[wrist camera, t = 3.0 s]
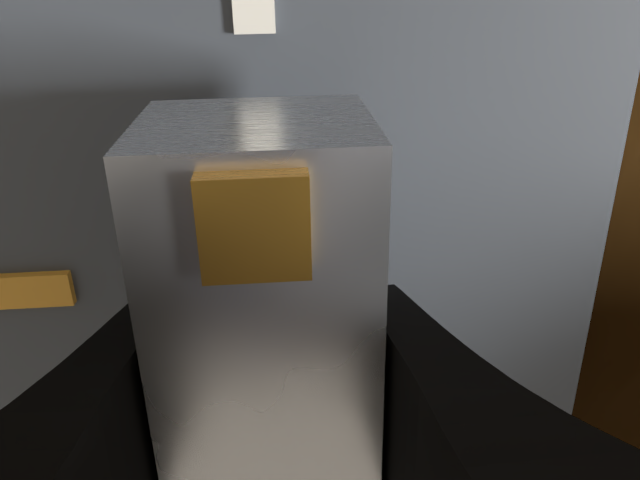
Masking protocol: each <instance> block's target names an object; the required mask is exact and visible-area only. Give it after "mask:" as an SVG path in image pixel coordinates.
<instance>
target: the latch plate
mask: <svg viewBox="0 0 640 480" xmlns="http://www.w3.org/2000/svg"><path fill="white" fill-rule="evenodd" d="M639 71H640V0H0V410H1V409H2V408H3V407H5V406H6V405H8V404H9V403H10V402H12V401H13V400H14V399H15V398H17V397H18V396H19V395H20V394H22V393H23V392H24V391H25V390H27V389H28V388H29V387H31V386H32V385H33V384H34V383H36V382H37V381H38V380H39V379H41V378H42V377H43V376H45V375H46V374H47V373H48V372H50V371H51V370H52V369H53V368H55V367H56V366H57V365H58V364H60V363H61V362H62V361H63V360H64V359H66V358H67V357H68V356H69V355H70V354H71V353H72V352H74V351H75V350H76V349H77V348H78V347H79V346H80V345H82V344H83V343H84V342H85V341H86V340H87V339H88V338H90V337H91V336H92V335H93V334H94V333H95V332H96V331H98V330H99V329H100V328H101V327H102V326H103V325H104V324H105V323H106V322H108V321H109V320H110V319H111V318H112V317H113V316H114V315H115V314H116V313H118V312H119V311H120V310H121V309H122V308H123V307H124V306H125V305H127V304H128V299H127V293H126V288H125V282H124V276H123V270H122V264H121V259H120V253H119V247H118V241H117V235H116V230H115V224H114V218H113V212H112V206H111V201H110V195H109V189H108V183H107V177H106V172H105V166H104V160H103V156H104V155H105V154H106V153H107V152H108V150H109V149H110V148H111V147H112V146H113V145H114V143H115V142H116V141H117V140H118V139H119V138H120V136H121V135H122V134H123V133H124V132H125V131H126V129H127V128H128V127H129V126H130V125H131V124H132V122H133V121H134V120H135V119H136V118H137V117H138V116H139V114H140V113H141V112H142V111H143V110H144V109H145V107H146V106H147V105H148V104H149V103H150V102H151V101H159V100H189V99H220V98H251V97H281V96H312V95H342V94H358V96H359V97H360V99H361V100H362V102H363V103H364V104H365V106H366V107H367V109H368V110H369V112H370V113H371V115H372V116H373V118H374V119H375V121H376V122H377V124H378V125H379V127H380V128H381V130H382V131H383V133H384V134H385V135H386V137H387V138H388V140H389V141H390V143H391V144H392V175H391V205H390V235H389V265H388V285H391V284H395V285H396V286H397V287H398V288H399V289H401V290H402V291H403V292H404V293H405V294H406V295H407V296H408V297H410V298H411V299H412V300H413V301H414V302H415V303H416V304H417V305H418V306H420V307H421V308H422V309H423V310H424V311H425V312H426V313H427V314H429V315H430V316H431V317H432V318H433V319H434V320H436V321H437V322H438V323H439V324H440V325H441V326H443V327H444V328H445V329H446V330H447V331H449V332H450V333H451V334H452V335H453V336H455V337H456V338H457V339H458V340H460V341H461V342H462V343H463V344H465V345H466V346H467V347H469V348H470V349H471V350H472V351H474V352H475V353H476V354H478V355H479V356H480V357H482V358H483V359H484V360H486V361H487V362H489V363H490V364H492V365H493V366H494V367H496V368H497V369H499V370H500V371H501V372H503V373H504V374H506V375H507V376H508V377H510V378H511V379H513V380H514V381H516V382H517V383H519V384H521V385H522V386H524V387H525V388H527V389H528V390H530V391H532V392H533V393H535V394H537V395H538V396H540V397H542V398H543V399H545V400H547V401H548V402H550V403H552V404H553V405H555V406H557V407H558V408H560V409H562V410H564V411H565V412H567V413H569V414H571V415H572V410H573V405H574V400H575V395H576V390H577V385H578V380H579V375H580V370H581V365H582V360H583V355H584V350H585V345H586V340H587V335H588V329H589V324H590V319H591V314H592V309H593V304H594V299H595V294H596V289H597V284H598V279H599V274H600V269H601V264H602V259H603V253H604V248H605V243H606V238H607V233H608V228H609V223H610V218H611V213H612V208H613V203H614V198H615V193H616V188H617V183H618V178H619V172H620V167H621V162H622V157H623V152H624V147H625V142H626V137H627V132H628V127H629V122H630V117H631V112H632V107H633V102H634V97H635V91H636V86H637V81H638V76H639Z"/></svg>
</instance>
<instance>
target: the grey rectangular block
mask: <svg viewBox="0 0 640 480" xmlns="http://www.w3.org/2000/svg"><path fill="white" fill-rule="evenodd" d="M103 160H104V166H105V172H106V177H107V183H108V189H109V195H110V201H111V206H112V212H113V218H114V224H115V230H116V235H117V241H118V247H119V253H120V259H121V264H122V270H123V276H124V282H125V288H126V293H127V299H128V305H129V311H130V317H131V322H132V328H133V334H134V340H135V346H136V351H137V357H138V363H139V369H140V375H141V380H142V386H143V392H144V398H145V404H146V409H147V415H148V421H149V427H150V433H151V438H152V444H153V450H154V456H155V462H156V467H157V473H158V479H159V480H381V474H382V444H383V414H384V384H385V355H386V325H387V295H388V265H389V235H390V205H391V175H392V144H391V143H390V141H389V140H388V138H387V137H386V135H385V134H384V133H383V131H382V130H381V128H380V127H379V125H378V124H377V122H376V121H375V119H374V118H373V116H372V115H371V113H370V112H369V110H368V109H367V107H366V106H365V104H364V103H363V102H362V100H361V99H360V97H359V96H358V94H342V95H312V96H281V97H251V98H220V99H189V100H159V101H151V102H150V103H149V104H148V105H147V106H146V107H145V109H144V110H143V111H142V112H141V113H140V114H139V116H138V117H137V118H136V119H135V120H134V121H133V122H132V124H131V125H130V126H129V127H128V128H127V129H126V131H125V132H124V133H123V134H122V135H121V136H120V138H119V139H118V140H117V141H116V142H115V143H114V145H113V146H112V147H111V148H110V149H109V150H108V152H107V153H106V154H105V155H104V156H103Z"/></svg>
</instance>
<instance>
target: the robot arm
mask: <svg viewBox="0 0 640 480" xmlns="http://www.w3.org/2000/svg"><path fill="white" fill-rule="evenodd" d="M0 480H159V479H158V473H157V467H156V462H155V456H154V450H153V444H152V438H151V433H150V427H149V421H148V415H147V409H146V404H145V398H144V392H143V386H142V380H141V375H140V369H139V363H138V357H137V351H136V346H135V340H134V334H133V328H132V322H131V317H130V311H129V305H128V304H127V305H125V306H124V307H123V308H122V309H121V310H120V311H119V312H118V313H116V314H115V315H114V316H113V317H112V318H111V319H110V320H109V321H108V322H106V323H105V324H104V325H103V326H102V327H101V328H100V329H99V330H98V331H96V332H95V333H94V334H93V335H92V336H91V337H90V338H88V339H87V340H86V341H85V342H84V343H83V344H82V345H80V346H79V347H78V348H77V349H76V350H75V351H74V352H72V353H71V354H70V355H69V356H68V357H67V358H66V359H64V360H63V361H62V362H61V363H60V364H58V365H57V366H56V367H55V368H53V369H52V370H51V371H50V372H48V373H47V374H46V375H45V376H43V377H42V378H41V379H39V380H38V381H37V382H36V383H34V384H33V385H32V386H31V387H29V388H28V389H27V390H25V391H24V392H23V393H22V394H20V395H19V396H18V397H17V398H15V399H14V400H13V401H12V402H10V403H9V404H8V405H6V406H5V407H3V408H2V409H1V410H0ZM381 480H640V449H638V448H636V447H634V446H632V445H629V444H627V443H625V442H623V441H621V440H619V439H617V438H615V437H613V436H611V435H609V434H607V433H605V432H603V431H601V430H599V429H597V428H595V427H593V426H591V425H589V424H587V423H585V422H584V421H582V420H580V419H578V418H576V417H574V416H572V415H571V414H569V413H567V412H565V411H564V410H562V409H560V408H558V407H557V406H555V405H553V404H552V403H550V402H548V401H547V400H545V399H543V398H542V397H540V396H538V395H537V394H535V393H533V392H532V391H530V390H528V389H527V388H525V387H524V386H522V385H521V384H519V383H517V382H516V381H514V380H513V379H511V378H510V377H508V376H507V375H506V374H504V373H503V372H501V371H500V370H499V369H497V368H496V367H494V366H493V365H492V364H490V363H489V362H487V361H486V360H484V359H483V358H482V357H480V356H479V355H478V354H476V353H475V352H474V351H472V350H471V349H470V348H469V347H467V346H466V345H465V344H463V343H462V342H461V341H460V340H458V339H457V338H456V337H455V336H453V335H452V334H451V333H450V332H449V331H447V330H446V329H445V328H444V327H443V326H441V325H440V324H439V323H438V322H437V321H436V320H434V319H433V318H432V317H431V316H430V315H429V314H427V313H426V312H425V311H424V310H423V309H422V308H421V307H420V306H418V305H417V304H416V303H415V302H414V301H413V300H412V299H411V298H410V297H408V296H407V295H406V294H405V293H404V292H403V291H402V290H401V289H399V288H398V287H397V286H396V285H395V284H391V285H388V295H387V325H386V355H385V384H384V414H383V444H382V474H381Z"/></svg>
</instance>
